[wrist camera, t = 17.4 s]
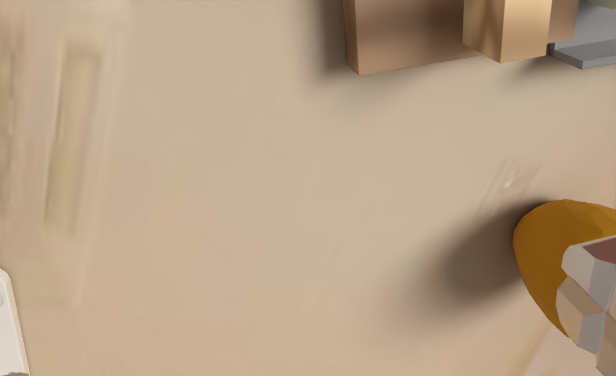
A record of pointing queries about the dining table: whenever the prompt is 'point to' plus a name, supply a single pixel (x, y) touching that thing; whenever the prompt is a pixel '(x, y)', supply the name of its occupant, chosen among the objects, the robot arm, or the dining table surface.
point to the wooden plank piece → (507, 28)
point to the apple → (556, 245)
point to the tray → (589, 38)
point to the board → (422, 32)
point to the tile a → (604, 3)
